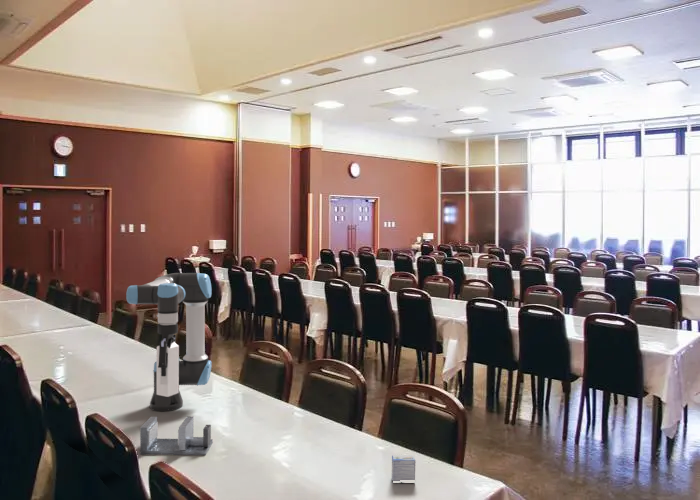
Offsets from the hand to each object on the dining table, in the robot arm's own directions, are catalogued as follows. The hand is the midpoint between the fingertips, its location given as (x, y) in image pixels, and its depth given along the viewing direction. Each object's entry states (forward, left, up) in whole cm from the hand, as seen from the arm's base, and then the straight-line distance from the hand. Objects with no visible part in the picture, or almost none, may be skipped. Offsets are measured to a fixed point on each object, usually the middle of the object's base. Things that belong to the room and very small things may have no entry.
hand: (167, 380), depth 224 cm
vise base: (0, +4, -27) cm, 27 cm away
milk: (0, 0, -5) cm, 5 cm away
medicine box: (+26, +90, -27) cm, 98 cm away
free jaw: (0, +11, -25) cm, 28 cm away
